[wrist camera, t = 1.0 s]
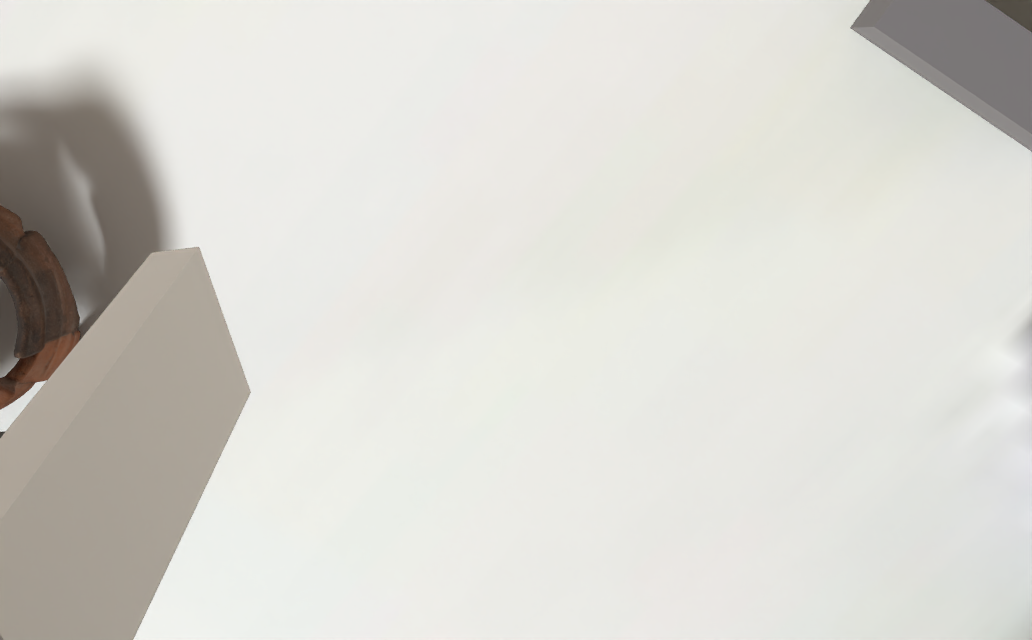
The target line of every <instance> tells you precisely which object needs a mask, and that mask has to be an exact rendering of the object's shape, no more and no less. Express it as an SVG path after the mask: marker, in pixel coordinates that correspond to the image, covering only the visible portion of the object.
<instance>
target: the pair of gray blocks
mask: <svg viewBox="0 0 1032 640" xmlns="http://www.w3.org/2000/svg"><path fill="white" fill-rule="evenodd" d="M851 29H853V30H854V31H856V32H857V33H859V34H860V35H861V36H863V37H864V38H866V39H867V40H869V41H870V42H872V43H873V44H875V45H876V46H878V47H879V48H881V49H882V50H883V51H885V52H886V53H888V54H889V55H891V56H892V57H894V58H895V59H897V60H898V61H900V62H901V63H903V64H904V65H906V66H907V67H908V68H910V69H911V70H913V71H914V72H916V73H917V74H919V75H920V76H922V77H923V78H925V79H926V80H928V81H929V82H931V83H932V84H933V85H935V86H936V87H938V88H939V89H941V90H942V91H944V92H945V93H947V94H948V95H950V96H951V97H953V98H954V99H956V100H957V101H958V102H960V103H961V104H963V105H964V106H966V107H967V108H969V109H970V110H972V111H973V112H975V113H976V114H978V115H979V116H981V117H982V118H983V119H985V120H986V121H988V122H989V123H991V124H992V125H994V126H995V127H997V128H998V129H1000V130H1001V131H1003V132H1004V133H1006V134H1007V135H1008V136H1010V137H1011V138H1013V139H1014V140H1016V141H1017V142H1019V143H1020V144H1022V145H1023V146H1025V147H1026V148H1028V149H1029V150H1031V151H1032V32H1031V31H1029V30H1028V29H1026V28H1025V27H1023V26H1022V25H1020V24H1019V23H1018V22H1016V21H1015V20H1013V19H1012V18H1010V17H1009V16H1007V15H1006V14H1004V13H1003V12H1002V11H1000V10H999V9H997V8H996V7H994V6H993V5H991V4H990V3H988V2H987V1H986V0H870V1H869V3H868V4H867V6H866V7H865V8H864V10H863V11H862V13H861V14H860V15H859V17H858V18H857V19H856V21H855V22H854V24H853V25H852V26H851Z"/></svg>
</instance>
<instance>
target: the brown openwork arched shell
mask: <svg viewBox="0 0 1032 640" xmlns="http://www.w3.org/2000/svg"><path fill="white" fill-rule="evenodd" d="M0 277H1V278H2V280H3V281H4V283H5V284H6V286H7V287H8V289H9V291H10V293H11V296H12V298H13V301H14V304H15V308H16V312H17V320H18V334H17V339H16V345H15V350H14V355H15V357H17V358H20V359H19V361H18V362H17V364H16V365H15V367H14V368H13V369H12V370H11V371H10V372H9V373H8V374H7V375H6V376H5V377H2V378H0V409H2V408H4V407H6V406H8V405H9V404H11V403H12V402H14V401H15V400H17V399H18V398H20V397H21V396H23V395H24V394H25V393H26V392H27V391H29V390H30V389H31V388H32V386H33V385H34V384H35V383H36V382H40V381H46V380H48V379H49V378H50V377H51V375H52V374H53V373H54V372H55V370H56V369H57V368H58V367H59V366H60V364H61V363H62V362H63V361H64V359H65V358H66V357H67V356H68V354H69V353H70V352H71V351H72V350H73V348H74V347H75V346H76V345H77V343H78V342H79V339H80V332H79V331H77V329H78V326H79V321H80V317H79V315H78V311H77V307H76V303H75V299H74V297H73V294H72V291H71V288H70V285H69V283H68V281H67V278H66V276H65V273H64V271H63V269H62V267H61V265H60V263H59V261H58V260H57V258H56V257H55V255H54V254H53V252H52V251H51V249H50V248H49V246H48V245H47V243H46V241H45V239H44V238H43V237H42V236H41V235H40V234H39V233H38V232H37V231H26V232H24V231H23V228H22V221H21V219H20V218H19V216H17V215H16V214H15V213H13V212H11V211H10V210H8V209H6V208H4V207H3V206H1V205H0Z"/></svg>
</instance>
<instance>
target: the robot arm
mask: <svg viewBox="0 0 1032 640" xmlns="http://www.w3.org/2000/svg"><path fill="white" fill-rule="evenodd" d="M250 393H251V392H250V389H249V386H248V383H247V380H246V378H245V375H244V372H243V369H242V366H241V364H240V361H239V358H238V355H237V352H236V349H235V347H234V344H233V341H232V338H231V335H230V333H229V330H228V327H227V324H226V321H225V319H224V316H223V313H222V310H221V307H220V305H219V302H218V299H217V296H216V293H215V290H214V288H213V285H212V282H211V279H210V276H209V274H208V271H207V268H206V265H205V262H204V260H203V257H202V254H201V251H200V248H199V247H194V248H185V249H177V250H168V251H160V252H152V253H151V254H150V255H149V256H148V257H147V259H146V260H145V261H144V262H143V264H142V265H141V266H140V267H139V269H138V270H137V271H136V272H135V273H134V275H133V276H132V277H131V278H130V280H129V281H128V282H127V283H126V284H125V286H124V287H123V288H122V289H121V291H120V292H119V293H118V294H117V296H116V297H115V298H114V299H113V300H112V302H111V303H110V304H109V305H108V307H107V308H106V309H105V310H104V311H103V313H102V314H101V315H100V316H99V318H98V319H97V320H96V321H95V323H94V324H93V325H92V326H91V327H90V329H89V330H88V331H87V332H86V334H85V335H84V336H83V337H82V339H81V340H80V341H79V342H78V343H77V345H76V346H75V347H74V348H73V350H72V351H71V352H70V353H69V354H68V356H67V357H66V358H65V359H64V361H63V362H62V363H61V364H60V366H59V367H58V368H57V369H56V370H55V372H54V373H53V374H52V375H51V377H50V378H49V379H48V380H47V382H46V383H45V384H44V385H43V386H42V388H41V389H40V390H39V391H38V393H37V394H36V395H35V396H34V397H33V399H32V400H31V401H30V402H29V404H28V405H27V406H26V407H25V409H24V410H23V411H22V412H21V413H20V415H19V416H18V417H17V418H16V420H15V421H14V422H13V423H12V424H11V426H10V427H9V428H8V429H7V431H6V432H0V640H133V639H134V637H135V635H136V633H137V630H138V628H139V626H140V624H141V622H142V620H143V618H144V616H145V614H146V612H147V609H148V607H149V605H150V603H151V601H152V599H153V597H154V595H155V593H156V590H157V588H158V586H159V584H160V582H161V580H162V578H163V576H164V574H165V572H166V569H167V567H168V565H169V563H170V561H171V559H172V557H173V555H174V553H175V550H176V548H177V546H178V544H179V542H180V540H181V538H182V536H183V534H184V532H185V529H186V527H187V525H188V523H189V521H190V519H191V517H192V515H193V513H194V510H195V508H196V506H197V504H198V502H199V500H200V498H201V496H202V494H203V492H204V489H205V487H206V485H207V483H208V481H209V479H210V477H211V475H212V473H213V471H214V468H215V466H216V464H217V462H218V460H219V458H220V456H221V454H222V452H223V449H224V447H225V445H226V443H227V441H228V439H229V437H230V435H231V433H232V431H233V428H234V426H235V424H236V422H237V420H238V418H239V416H240V414H241V412H242V409H243V407H244V405H245V403H246V401H247V399H248V397H249V395H250Z"/></svg>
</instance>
